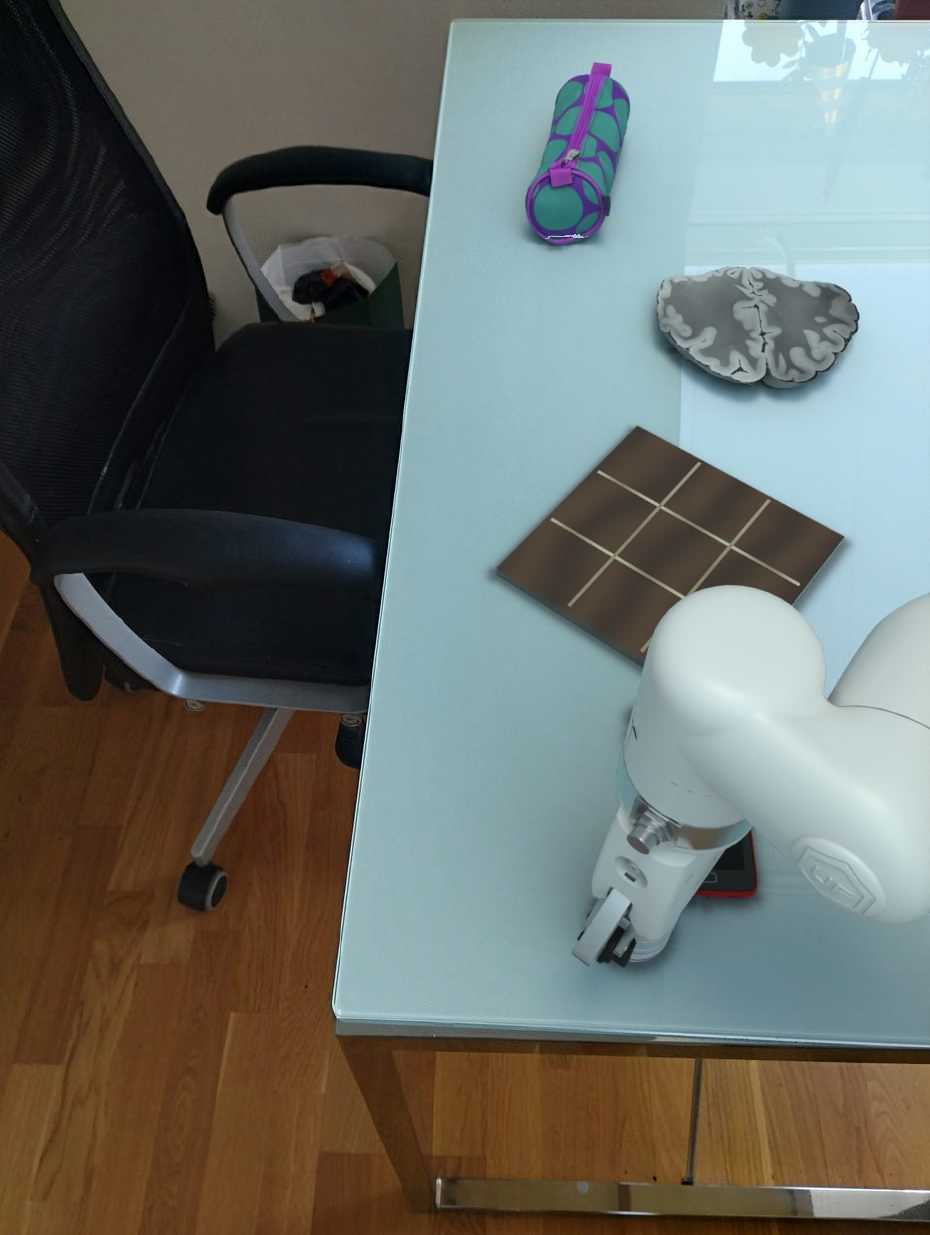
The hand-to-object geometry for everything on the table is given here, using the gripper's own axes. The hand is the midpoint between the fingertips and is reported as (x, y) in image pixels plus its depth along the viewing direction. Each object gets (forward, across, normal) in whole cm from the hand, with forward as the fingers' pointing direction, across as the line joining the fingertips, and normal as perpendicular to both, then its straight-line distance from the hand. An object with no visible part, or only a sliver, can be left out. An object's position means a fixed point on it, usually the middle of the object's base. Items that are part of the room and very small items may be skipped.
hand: (646, 892), depth 68 cm
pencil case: (+5, +65, +51) cm, 83 cm away
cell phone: (+5, +10, +2) cm, 11 cm away
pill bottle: (+5, -1, 0) cm, 5 cm away
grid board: (+5, +28, +15) cm, 32 cm away
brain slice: (+5, +55, +23) cm, 60 cm away
